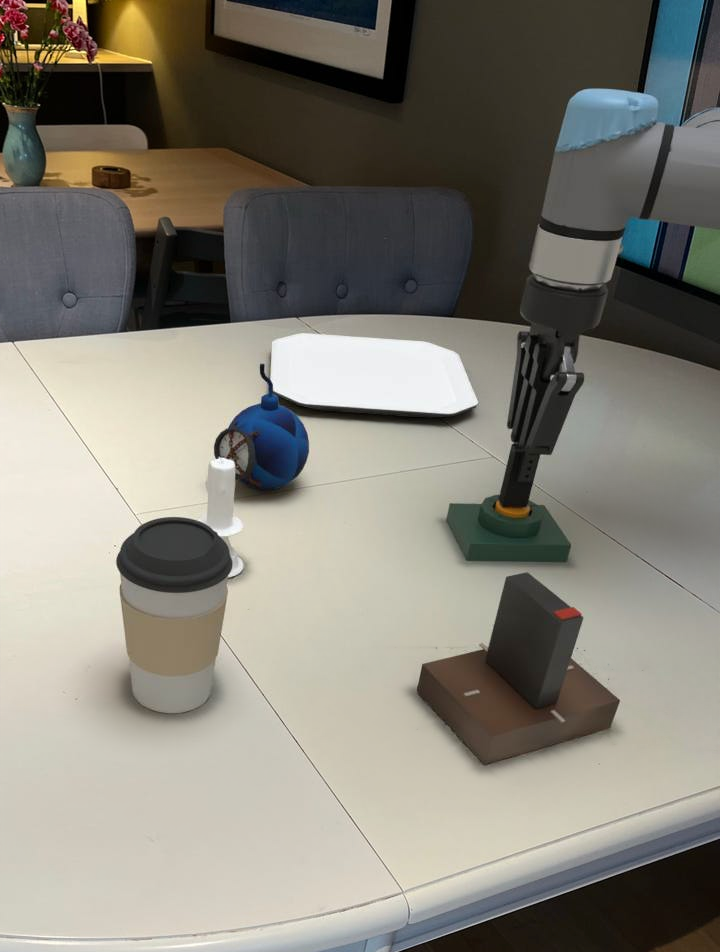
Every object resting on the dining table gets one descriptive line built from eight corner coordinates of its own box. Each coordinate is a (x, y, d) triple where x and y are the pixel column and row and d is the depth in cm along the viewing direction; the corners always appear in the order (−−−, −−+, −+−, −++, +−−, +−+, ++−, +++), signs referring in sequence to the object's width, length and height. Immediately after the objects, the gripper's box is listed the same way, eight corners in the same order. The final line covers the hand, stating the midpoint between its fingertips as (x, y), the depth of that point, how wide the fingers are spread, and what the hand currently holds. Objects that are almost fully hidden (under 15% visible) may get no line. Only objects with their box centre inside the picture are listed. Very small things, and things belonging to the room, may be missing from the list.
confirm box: (539, 521, 113) (548, 490, 111) (566, 562, 106) (576, 529, 103) (445, 520, 112) (452, 488, 110) (466, 561, 105) (473, 528, 102)
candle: (187, 576, 99) (190, 466, 92) (196, 549, 103) (200, 443, 96) (239, 582, 98) (247, 472, 92) (246, 555, 103) (254, 449, 96)
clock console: (532, 657, 91) (540, 629, 89) (615, 732, 83) (626, 703, 81) (412, 687, 86) (418, 658, 84) (488, 769, 78) (496, 739, 76)
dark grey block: (484, 660, 85) (506, 573, 80) (505, 655, 86) (528, 569, 81) (535, 709, 80) (562, 620, 75) (557, 703, 81) (585, 614, 75)
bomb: (197, 484, 115) (202, 359, 107) (262, 459, 122) (271, 339, 113) (258, 516, 110) (267, 386, 101) (321, 488, 117) (336, 364, 108)
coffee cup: (106, 712, 81) (101, 554, 72) (133, 649, 88) (132, 499, 80) (214, 728, 80) (223, 571, 71) (232, 663, 87) (242, 513, 79)
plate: (271, 343, 157) (272, 330, 156) (452, 356, 157) (454, 342, 156) (268, 415, 134) (269, 399, 132) (481, 430, 134) (484, 414, 132)
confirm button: (520, 512, 109) (524, 498, 108) (530, 528, 106) (534, 514, 105) (488, 511, 108) (492, 497, 107) (498, 528, 106) (501, 513, 105)
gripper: (634, 301, 87) (566, 534, 101) (582, 261, 98) (527, 477, 112) (552, 298, 87) (495, 533, 100) (509, 257, 97) (463, 475, 111)
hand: (512, 503), depth 106 cm, fingers closed
